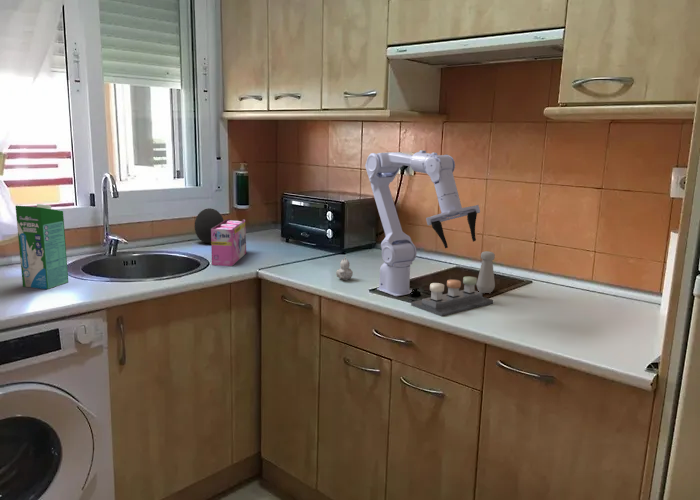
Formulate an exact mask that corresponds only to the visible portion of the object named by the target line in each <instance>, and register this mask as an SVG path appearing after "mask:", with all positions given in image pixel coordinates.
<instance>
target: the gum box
mask: <svg viewBox="0 0 700 500" xmlns="http://www.w3.org/2000/svg"><path fill="white" fill-rule="evenodd" d="M223 220H224V219H223ZM246 228H247V227H246V219H242V220H241V221H240V220H232V219H230V218H227V219H225V220H224V221H223V222H222V223H220V224H218V225H217V226H215V227H213V228H212V229H211V248H210V249H211V250H210V251H211V266H224V267H225V266H227V267H233V266H234V265H235V264H236V263H237V262H239V260H240V259H242V258H243V257H244V256H245V255H246V254H247V232H246V231H247V230H246Z"/></svg>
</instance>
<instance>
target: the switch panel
mask: <svg viewBox="0 0 700 500" xmlns="http://www.w3.org/2000/svg"><path fill="white" fill-rule="evenodd" d="M483 294H484V293H481V292H478V290H476V289H475V290H474V292H472V293H468V292H464V289H460V290H459V296H454V297H453V296H450V295H448V292H447V293H444V294H443V293H442V299H441V300H434V299H431V296H430V297H426V298H422V299H419V300H414V301H411V305H410V306H413V307H414V308H417V309H420V310H422V311H426V312H429V313H431V314H434V315H437V316H440V317H445V316H448V315H452V314H456V313H461V312H463V311H464V312H465V311H468V310H473V309H476V308H480V307H484V306H488V305H492V304H493V303H494V300H493V299H490V298H488V297H484V296H483Z"/></svg>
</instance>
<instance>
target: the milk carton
mask: <svg viewBox="0 0 700 500" xmlns="http://www.w3.org/2000/svg"><path fill="white" fill-rule="evenodd" d="M15 215H16V225H17V226H16V227H17V239H18V248H19V259H20V271H21V280H22V281H21V282H22V287H25V288H32V289H41V290H50V289H53V288H55V287H58V286H61V285H65V284H68V283H69V272H68V258H67V245H66V234H65V233H66V232H65V220H64V211H63V210H59V209H53V208H52V205H48V204H41V203H37V204H36V206H29V205H15Z"/></svg>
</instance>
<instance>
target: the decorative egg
mask: <svg viewBox="0 0 700 500" xmlns="http://www.w3.org/2000/svg"><path fill="white" fill-rule="evenodd" d="M223 221H224V218H223V216H222V214H221V213H220V211H218V210H217V209H214V208H205V209H203V210H200V212H199V213H198V214H197V216H196V218H195V220H194V232H195V235H196V237H197V238H198V239H199V241H201V242H203V243H205V244H209V245H210V244H211V229H212V228H213V227H215V226H217V225H218V224H220V223H222V222H223Z"/></svg>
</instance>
